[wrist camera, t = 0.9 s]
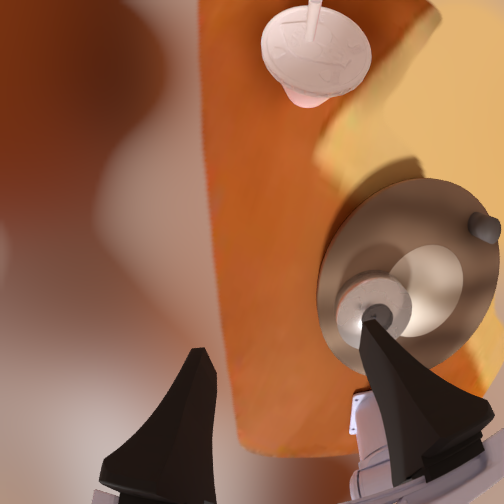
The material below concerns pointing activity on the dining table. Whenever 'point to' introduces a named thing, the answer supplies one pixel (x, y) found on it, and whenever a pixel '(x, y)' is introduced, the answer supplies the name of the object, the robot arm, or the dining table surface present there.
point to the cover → (371, 305)
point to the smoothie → (315, 53)
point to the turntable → (417, 264)
